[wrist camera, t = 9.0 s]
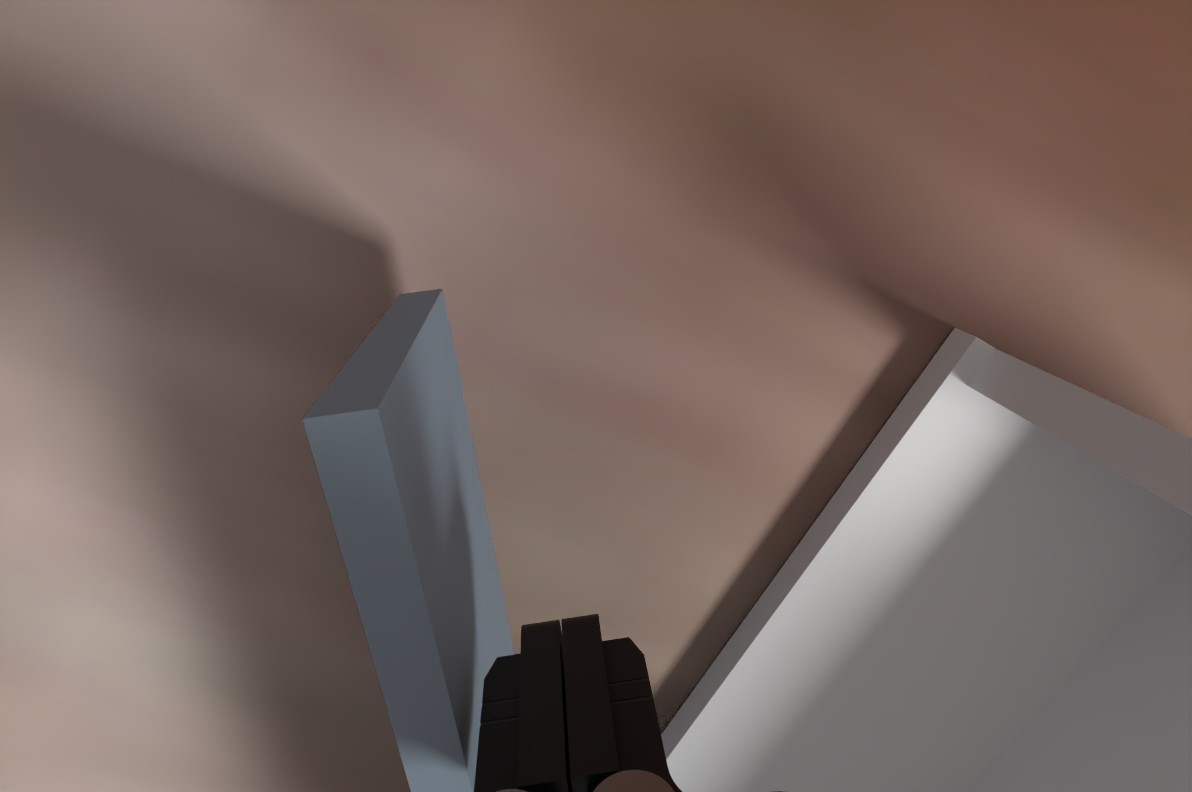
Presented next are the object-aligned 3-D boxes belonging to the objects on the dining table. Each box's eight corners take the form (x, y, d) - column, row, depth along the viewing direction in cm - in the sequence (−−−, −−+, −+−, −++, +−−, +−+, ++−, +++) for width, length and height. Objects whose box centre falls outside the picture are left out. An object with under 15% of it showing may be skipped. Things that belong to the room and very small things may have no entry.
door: (442, 288, 16) (378, 408, 9) (566, 920, 25) (582, 1239, 18) (365, 298, 16) (241, 427, 9) (516, 929, 24) (511, 1253, 17)
